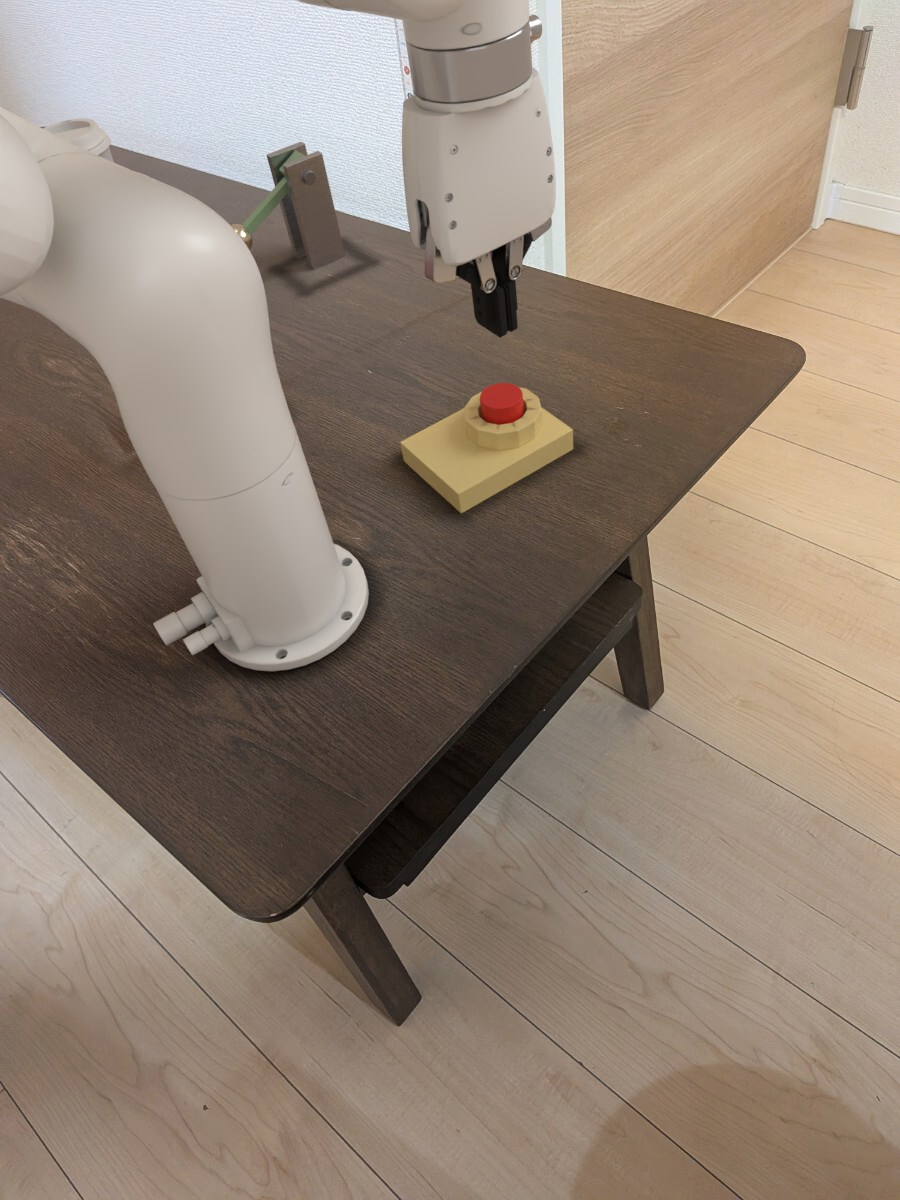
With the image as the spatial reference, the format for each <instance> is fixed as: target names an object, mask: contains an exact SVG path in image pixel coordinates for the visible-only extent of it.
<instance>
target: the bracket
mask: <svg viewBox="0 0 900 1200" xmlns="http://www.w3.org/2000/svg"><path fill="white" fill-rule="evenodd" d="M295 151H298V152H299V153H301V154H303V155H305V156H303V157H301V158H298V159H296V160H293V161H291V162H288V163H285V162H286V161H287V160H288V158H289V157H290V156H291V155H292V154H293V153H294V152H295ZM266 158H267V162H268V166H269V169H270V174H271V177H272V180H273V184H274V188H275V187H276V185H277V184H278V183H279V182H280V181H281V180H282V179H283V178H284V176H283V174H282V173H281V172H280V171H279V169H280V168H281V166H282V165H283V169H284V173H285V176H286V180H287V184H288V188H289V192H288V194H287V195H286V196H285V197H284V198H283V199H282V200H281V201H280V203H279V206H280V210H281V213H282V217H283V220H284V224H285V226H286V231H287V235H288V238H289V242H290V246H291V249H292V252H293V256H294V257H295V258H296V259H300V258H304V257H305V256H306V259H307V262H308V266H309V268H310V269H311V270H313V271H315V270H317V269H320V268H323V267H324V266H327V265H328V264H332V263H333V262H336V261H338V260H340V259H343V258H345V257H346V252H345V248H344V243H343V239H342V235H341V230H340V225H339V222H338V221H339V220H338V217H337V213H336V209H335V204H334V200H333V195H332V190H331V186H330V181H329V178H328V173H327V169H326V165H325V160H324V156H323V153H322V152H320V151H319V150H316V151H314V152H311V153H308V150H307V147H306V143H304V142H303V141H299V142H296V143H293V144H290V145H288V146H285V147H283V148H280V149H277V150H275V151H272V152H270V153H267V154H266ZM284 163H285V164H284Z"/></svg>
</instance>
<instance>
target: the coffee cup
mask: <svg viewBox="0 0 900 1200" xmlns="http://www.w3.org/2000/svg"><path fill="white" fill-rule="evenodd" d="M42 129H44V130H46V131H48V132H50V133H52V134H54V135H56V136H58V137H60V138H62V139H64V140H66V141H68V142H70V143H72V144H74V145H76V146H78V147H81V148H83V149H85V150H87V151H89V152H91V153H93V154H95V155H98V156H100V157H102V158H104V159H107V160H109V161H111V162H113V163H115V161H114V158H113V155H112V152H111V148H110V145H111V144H112V140H111V139H112V138H110V136H109V134H108V133H106V131H105V130H104V129H103V128H101V127H100V126H99V125H98V123H97V122H96V120H94V119H90V118H73V119H68V120H67V119H66V120H63V121H58V122H56V123H52V124H50V125H47V126H45V127H42Z"/></svg>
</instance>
